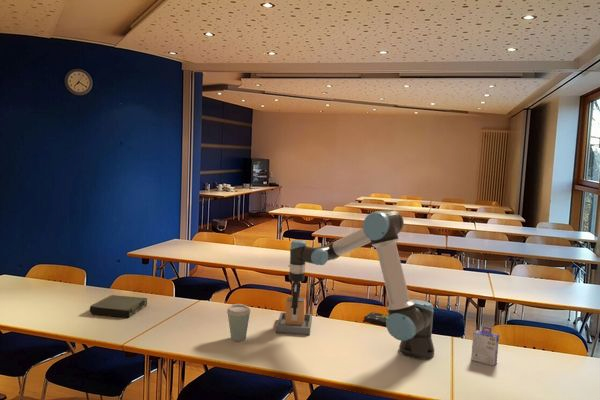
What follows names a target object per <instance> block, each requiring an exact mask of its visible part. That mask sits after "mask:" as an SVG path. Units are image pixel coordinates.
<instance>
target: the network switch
mask: <svg viewBox="0 0 600 400" xmlns="http://www.w3.org/2000/svg"><path fill="white" fill-rule="evenodd" d="M147 305H148V298H147V297H137V296H129V295H128V296H127V295H117V294H112V295H108V296H106V297H104V298H102V299H100V300H99V301H97V302H95V303H92V304H91V305H90V306H89V312H90V314H92V315H95V316H97V315H98V316H105V317H114V318H122V319H129V318H130V317H132V316H133V315H135V314H136V313H138V312H139V311H140V310H142V309H143V308H144V307H147Z"/></svg>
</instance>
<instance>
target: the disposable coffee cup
mask: <svg viewBox="0 0 600 400" xmlns="http://www.w3.org/2000/svg"><path fill="white" fill-rule="evenodd" d="M226 313H227V319H228V325H229V333H230V338H231V340H232V341H233V342H243V341H245V340H246V338H247V332H248V328H249V327H248V326H249V321H250V314H251V308H250V307H249V306H248V305H245V304H242V303H235V304H231V305H228V308H227V311H226Z"/></svg>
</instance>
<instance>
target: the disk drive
mask: <svg viewBox="0 0 600 400" xmlns="http://www.w3.org/2000/svg"><path fill="white" fill-rule="evenodd" d="M388 317H389V315H387V314H383V313H379V312H375V311H374V312H373V311H371V312H370V313H367V315H365V316H364V317H363V321H364V322H367V323H371V324H376V325H379V326H380V325H381V326H383V327H386V321H387V319H388Z"/></svg>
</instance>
